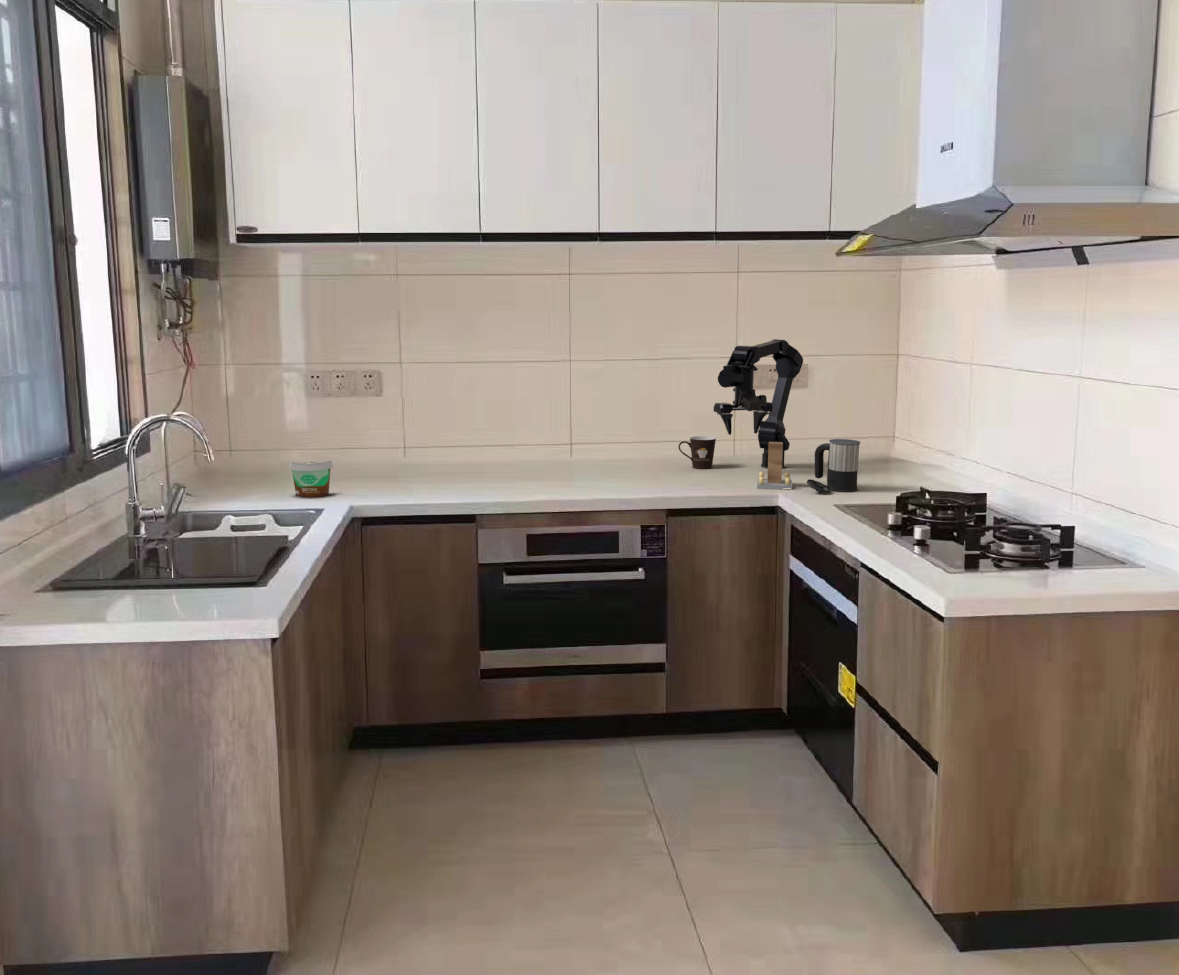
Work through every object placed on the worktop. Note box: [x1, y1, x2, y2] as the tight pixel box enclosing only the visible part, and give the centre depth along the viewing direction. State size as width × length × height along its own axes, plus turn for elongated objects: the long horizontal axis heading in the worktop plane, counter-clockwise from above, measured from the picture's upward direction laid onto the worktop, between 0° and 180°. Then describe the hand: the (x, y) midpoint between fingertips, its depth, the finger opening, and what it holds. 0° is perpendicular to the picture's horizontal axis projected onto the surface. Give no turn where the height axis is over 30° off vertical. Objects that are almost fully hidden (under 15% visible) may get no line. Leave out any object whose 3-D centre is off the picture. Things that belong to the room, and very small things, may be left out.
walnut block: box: [766, 442, 783, 484], centre depth 342 cm, size 4×4×12 cm
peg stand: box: [756, 471, 793, 490], centre depth 343 cm, size 10×10×3 cm
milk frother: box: [806, 438, 861, 494], centre depth 335 cm, size 14×16×15 cm
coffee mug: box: [678, 435, 717, 470], centre depth 375 cm, size 12×9×10 cm
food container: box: [289, 459, 334, 499], centre depth 323 cm, size 12×6×10 cm, turn 106°
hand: (742, 434), depth 361 cm, fingers open, 9 cm apart
